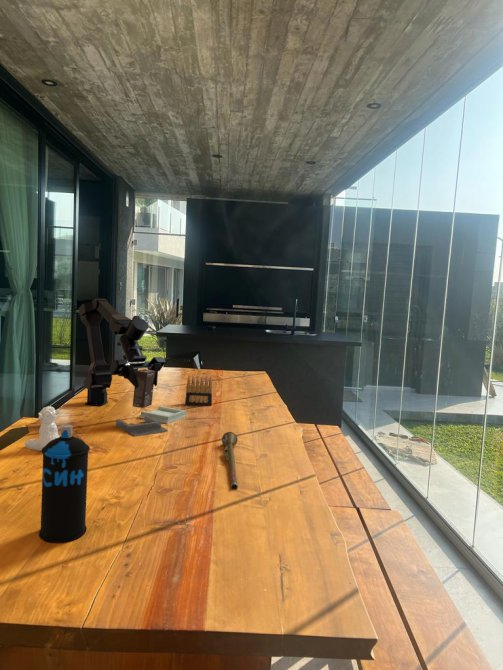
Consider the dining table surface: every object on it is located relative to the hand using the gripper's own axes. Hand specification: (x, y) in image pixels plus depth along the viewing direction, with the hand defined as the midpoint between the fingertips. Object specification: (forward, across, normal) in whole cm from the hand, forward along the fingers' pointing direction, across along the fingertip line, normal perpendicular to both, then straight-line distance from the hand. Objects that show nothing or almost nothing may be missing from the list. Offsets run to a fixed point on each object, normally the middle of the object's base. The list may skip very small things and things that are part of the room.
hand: (146, 386), depth 162 cm
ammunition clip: (-1, -34, -20) cm, 40 cm away
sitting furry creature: (+14, +35, -5) cm, 38 cm away
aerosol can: (+47, +50, +29) cm, 74 cm away
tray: (+6, -11, -13) cm, 18 cm away
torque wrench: (+40, 0, +21) cm, 45 cm away
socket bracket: (+11, +3, -7) cm, 14 cm away
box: (+4, 0, -6) cm, 7 cm away
